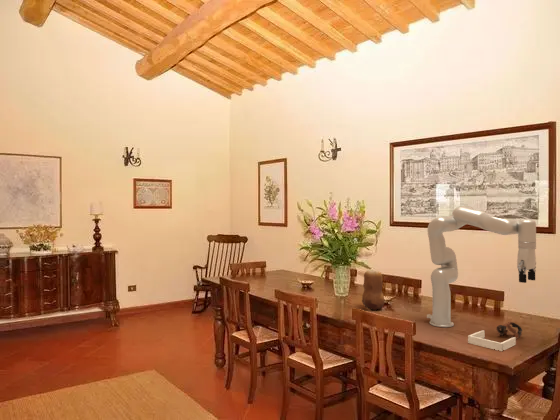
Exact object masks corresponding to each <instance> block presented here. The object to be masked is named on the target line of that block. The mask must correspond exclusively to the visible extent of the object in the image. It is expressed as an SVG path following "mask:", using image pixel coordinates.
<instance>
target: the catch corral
mask: <svg viewBox="0 0 560 420" xmlns="http://www.w3.org/2000/svg"><path fill="white" fill-rule="evenodd" d="M485 335H486V334H485V330H483V329H482V330H480V331H476V332H474V333H472V334H469V335H467V343H468V344H470V345H474V346H479V347H483V348H487V349H491V350H494V349H495V350H494V351H498V350H499V351H498V352H503V350H504V351H506V350H508V349H510V348H512V347H514V346H517V339H516V337H514V336H512V337H511V338H508V339H506V340H504V341H502V342H498V341H494V340H490V339H486V338H485Z"/></svg>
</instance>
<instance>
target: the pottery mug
mask: <svg viewBox="0 0 560 420" xmlns="http://www.w3.org/2000/svg"><path fill="white" fill-rule="evenodd" d="M516 329H517V330H516ZM509 331H510V332H511V333H512V334H514V336H513V337H516V340H517V339H518V338H520V337H521V336H522V334H523V333H522V332H523V328H522V327H521V326H520V325H519V324H517V323H515V322H512V321H509V322H507V323H505V324H503V325H502V324H499V325H497V327H496V332H497V333H498V334H499V336H504V334H505V335H507V334H508V332H509Z"/></svg>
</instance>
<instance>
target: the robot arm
mask: <svg viewBox="0 0 560 420" xmlns="http://www.w3.org/2000/svg"><path fill="white" fill-rule="evenodd" d="M466 225H469V226H472V227H473V226H474V227H477V228H479V229H483V230H485V231H488V232H489V233H490V232H491V233H495V234H498V235H501V236H502V235H503V236H509V235H517V238H518V239H517V241H518V242H517V245H518V246H517V248H518V251H517V260H516V262H517V263H516V269H517V270H518V282H519V283H523V284H525V283H527V280H528V281H536V272H537V271H536V268H537V266H536V265H537V257H536V249H537V222H536V221H535V220H533V219H521V220H520V219H516V218H515V219H514V218H513V219H512V218H511V219H510V218H508V219H503V218H500V217H499V218H498V217H495V216H492V215H489V214H488V213H487V212H486V211H484V210H483V211H482V210H478V209H475V208H473V207H472V206H468V205H464V206H457V207H455V208H454V209H453V211H452V214H451V215H448V216H438V217H435V218H433V219H432V220H431V221H430V222H429V223H428V226H427V236H428V243H429V253H430V260H431V262H432V264H434V265H435V266H440V267H437V268H435V269H433V270H432V271H431V272H430V273H431V274H430V282H431V288H432V289H431V290H432V291H431V292H432V294H431V296H432V314H430V313H428V314H426V318H427V319H430V321H429V325H431V326H434V327H438V328H439V327H440V328H450V327H451V328H452V327H454V322H453V321H451V311H452V308H451V307H452V306H451V305H452V304H451V303H452V302H451V301H452V299H451V295H452V293H451V287H450V284H452V283H455V282H457V279H458V278H459V269H458V262H457V255H456V252H455V251H454V250H453V249H452V248H451V247H449V246H446V239H445V236H444V235H443V233H446V232H454V231H457V230H459V229H460V228H462V227H463V226H466Z"/></svg>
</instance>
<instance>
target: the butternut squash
mask: <svg viewBox="0 0 560 420" xmlns="http://www.w3.org/2000/svg"><path fill="white" fill-rule="evenodd" d="M382 290H383V275H382V272H380V271H379V270H373V269H368V270H366V271H365V272H364V273H363V293H362V297H361V298H362V299H361V303H362V304H363V306H364V307H365V308H367V309H369V310H371V311H378V310H379V309H382V308H383V307H384V305H385V296H384V293H383V291H382ZM377 309H378V310H377Z"/></svg>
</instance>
